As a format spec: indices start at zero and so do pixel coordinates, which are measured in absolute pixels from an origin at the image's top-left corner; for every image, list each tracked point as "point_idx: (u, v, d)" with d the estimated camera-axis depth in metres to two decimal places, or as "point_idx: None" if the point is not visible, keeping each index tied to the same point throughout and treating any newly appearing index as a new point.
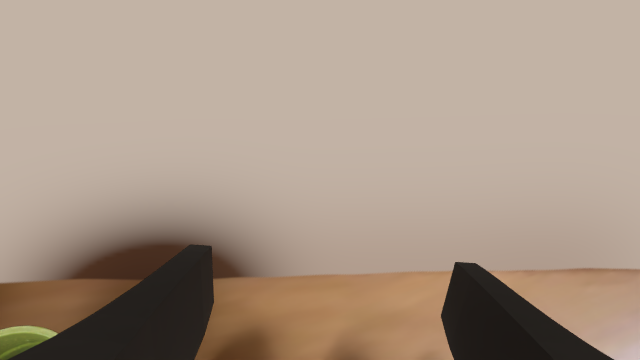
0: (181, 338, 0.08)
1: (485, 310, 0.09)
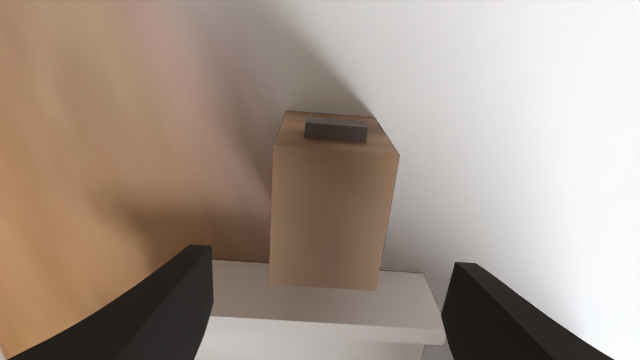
0: (181, 338, 0.08)
1: (485, 310, 0.09)
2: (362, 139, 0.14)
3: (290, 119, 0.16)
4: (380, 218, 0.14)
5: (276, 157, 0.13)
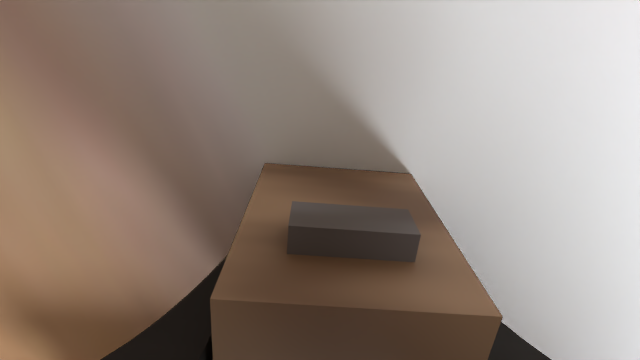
0: None
1: None
2: (407, 256, 0.07)
3: (267, 188, 0.09)
4: None
5: (220, 320, 0.06)
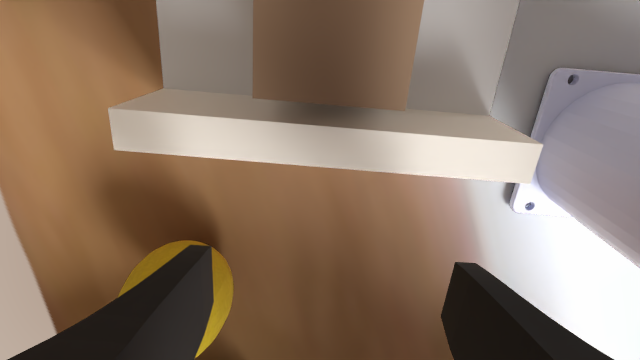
0: (181, 338, 0.08)
1: (485, 310, 0.09)
2: None
3: None
4: None
5: None
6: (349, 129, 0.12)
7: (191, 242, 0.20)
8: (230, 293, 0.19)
